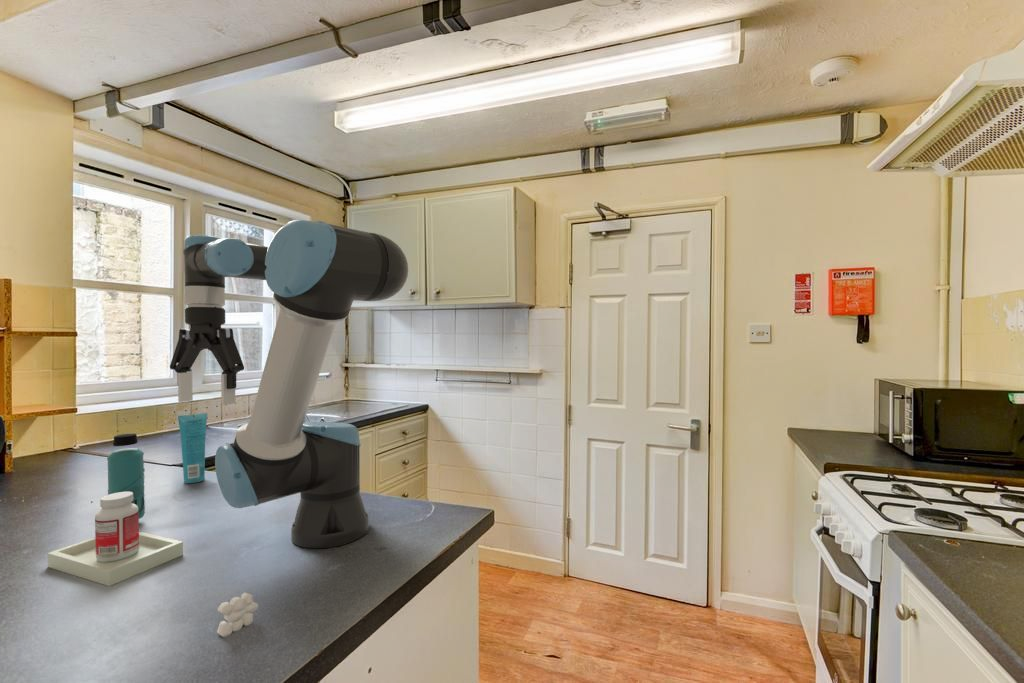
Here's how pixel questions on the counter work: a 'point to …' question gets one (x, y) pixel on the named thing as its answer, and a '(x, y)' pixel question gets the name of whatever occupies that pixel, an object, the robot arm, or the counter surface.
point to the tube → (193, 446)
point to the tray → (85, 564)
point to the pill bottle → (116, 527)
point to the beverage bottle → (127, 470)
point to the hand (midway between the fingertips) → (206, 402)
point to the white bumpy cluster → (236, 614)
